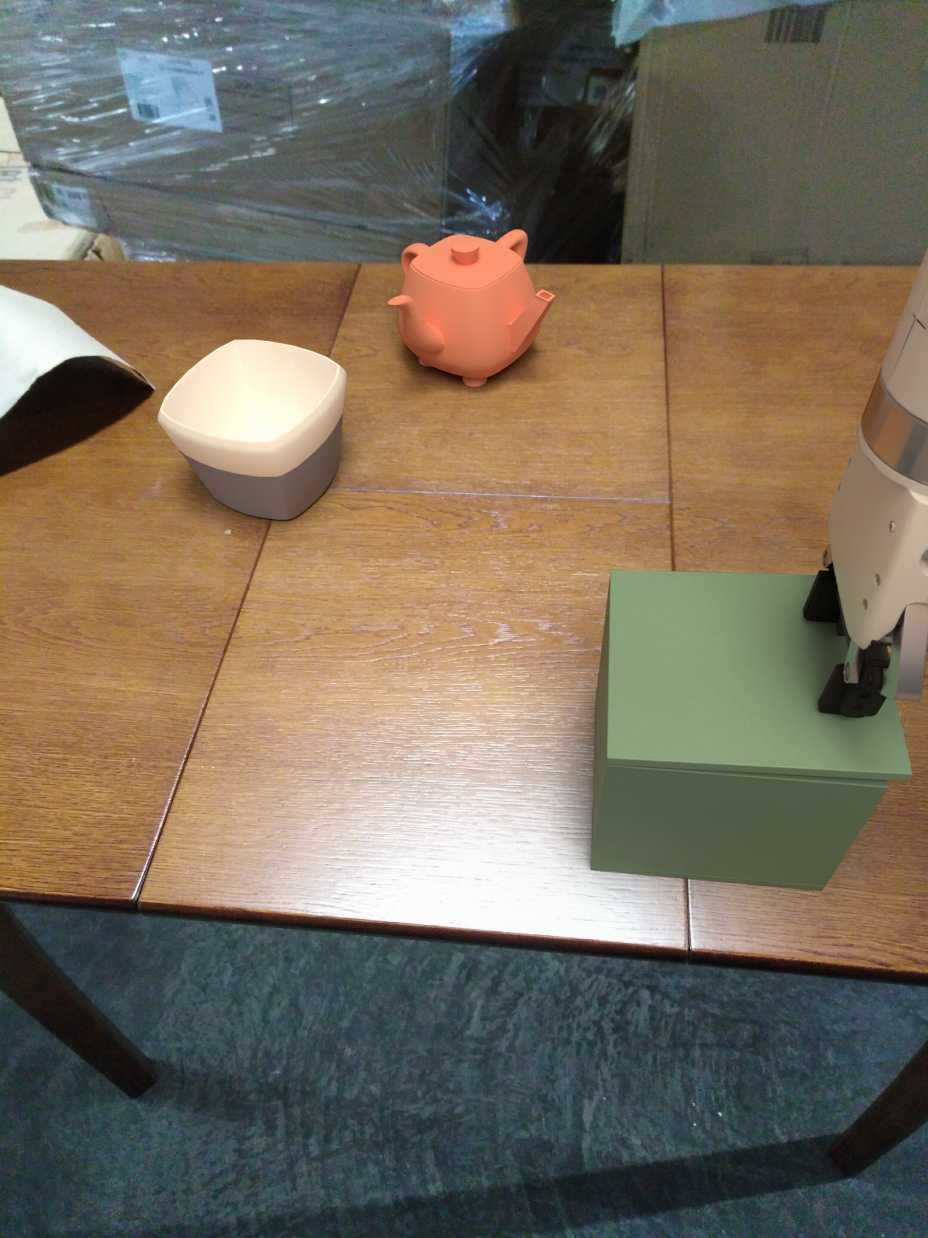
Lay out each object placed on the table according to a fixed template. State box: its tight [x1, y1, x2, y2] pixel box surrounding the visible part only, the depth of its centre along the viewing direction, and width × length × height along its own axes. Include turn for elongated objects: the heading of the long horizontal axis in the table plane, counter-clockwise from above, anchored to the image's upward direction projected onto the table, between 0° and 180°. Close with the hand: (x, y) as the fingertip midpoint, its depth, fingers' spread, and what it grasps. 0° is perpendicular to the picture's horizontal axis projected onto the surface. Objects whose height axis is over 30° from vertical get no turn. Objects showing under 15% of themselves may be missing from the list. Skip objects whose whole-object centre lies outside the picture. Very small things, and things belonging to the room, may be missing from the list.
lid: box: [606, 569, 914, 782], centre depth 53 cm, size 16×15×5 cm
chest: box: [590, 579, 890, 892], centre depth 61 cm, size 16×15×14 cm
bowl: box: [157, 339, 348, 521], centre depth 86 cm, size 15×15×11 cm
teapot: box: [387, 228, 557, 388], centre depth 97 cm, size 16×17×14 cm
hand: (837, 660), depth 53 cm, fingers closed on lid, 6 cm apart
